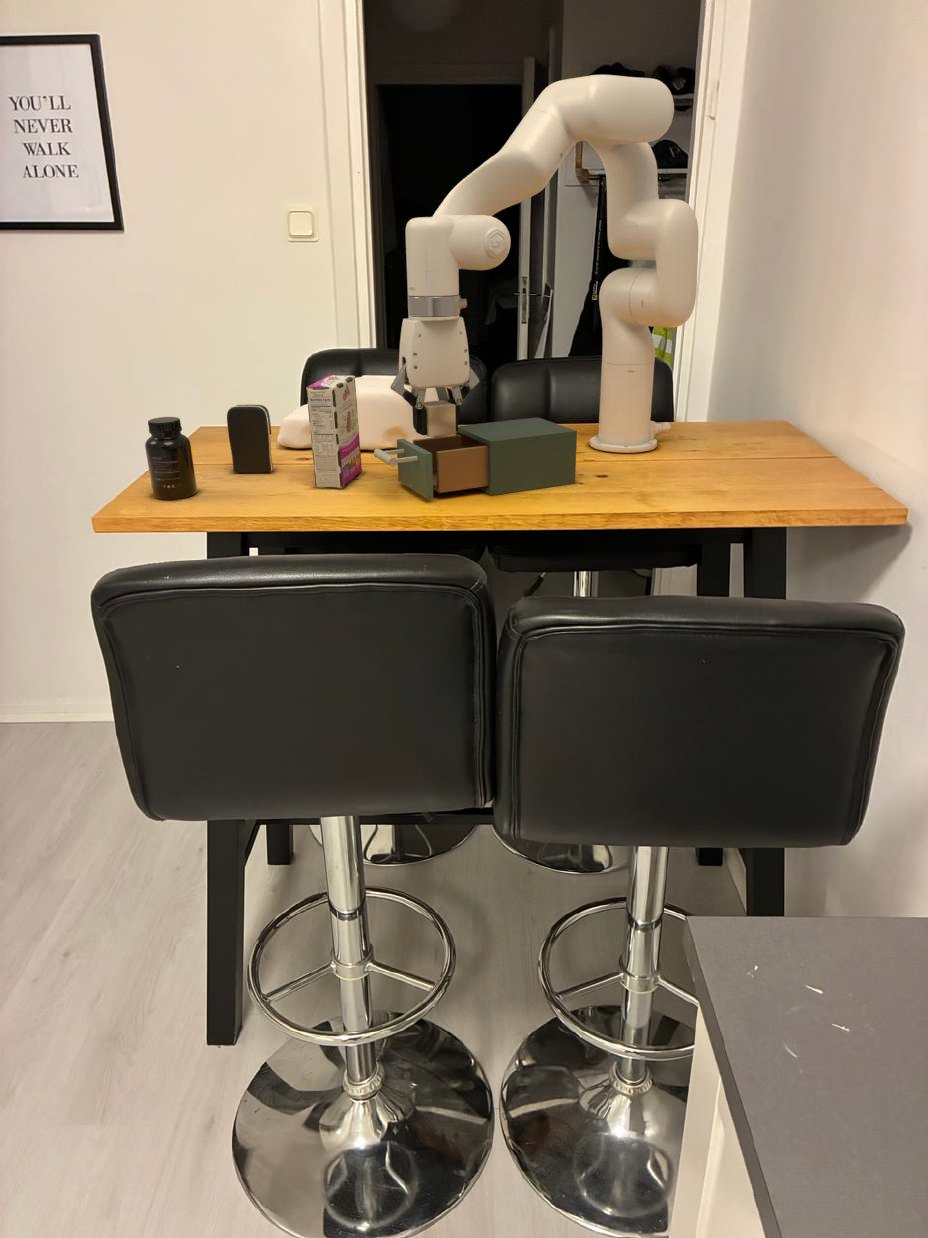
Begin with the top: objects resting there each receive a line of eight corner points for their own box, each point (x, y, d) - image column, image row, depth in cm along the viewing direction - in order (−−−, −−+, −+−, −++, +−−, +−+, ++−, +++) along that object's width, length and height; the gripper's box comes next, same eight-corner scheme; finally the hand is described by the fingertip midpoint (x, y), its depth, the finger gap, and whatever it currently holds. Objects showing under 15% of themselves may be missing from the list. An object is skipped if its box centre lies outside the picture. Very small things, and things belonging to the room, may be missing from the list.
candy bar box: (335, 471, 157) (328, 374, 150) (362, 472, 156) (356, 375, 149) (313, 488, 147) (304, 385, 140) (342, 489, 146) (335, 386, 139)
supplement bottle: (158, 489, 147) (147, 415, 142) (200, 488, 148) (191, 414, 143) (148, 501, 141) (136, 424, 136) (193, 499, 141) (182, 423, 137)
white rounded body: (427, 455, 167) (425, 381, 161) (273, 450, 172) (266, 378, 166) (448, 433, 184) (447, 365, 178) (308, 429, 189) (302, 363, 184)
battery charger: (277, 468, 159) (270, 402, 155) (271, 473, 156) (265, 406, 151) (237, 468, 160) (230, 402, 155) (231, 473, 156) (224, 406, 151)
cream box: (443, 428, 143) (443, 400, 142) (455, 434, 140) (455, 404, 138) (417, 431, 142) (416, 402, 140) (429, 437, 138) (428, 407, 136)
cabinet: (490, 495, 142) (490, 441, 138) (456, 477, 152) (455, 426, 149) (575, 483, 148) (577, 430, 144) (536, 466, 158) (537, 417, 155)
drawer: (396, 502, 136) (394, 457, 133) (369, 484, 145) (367, 442, 142) (509, 486, 143) (510, 443, 140) (477, 470, 153) (477, 430, 150)
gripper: (473, 303, 140) (474, 422, 147) (370, 309, 133) (377, 432, 140) (496, 307, 133) (496, 430, 141) (389, 313, 127) (395, 442, 134)
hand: (436, 430), depth 140 cm, fingers closed on cream box, 4 cm apart
